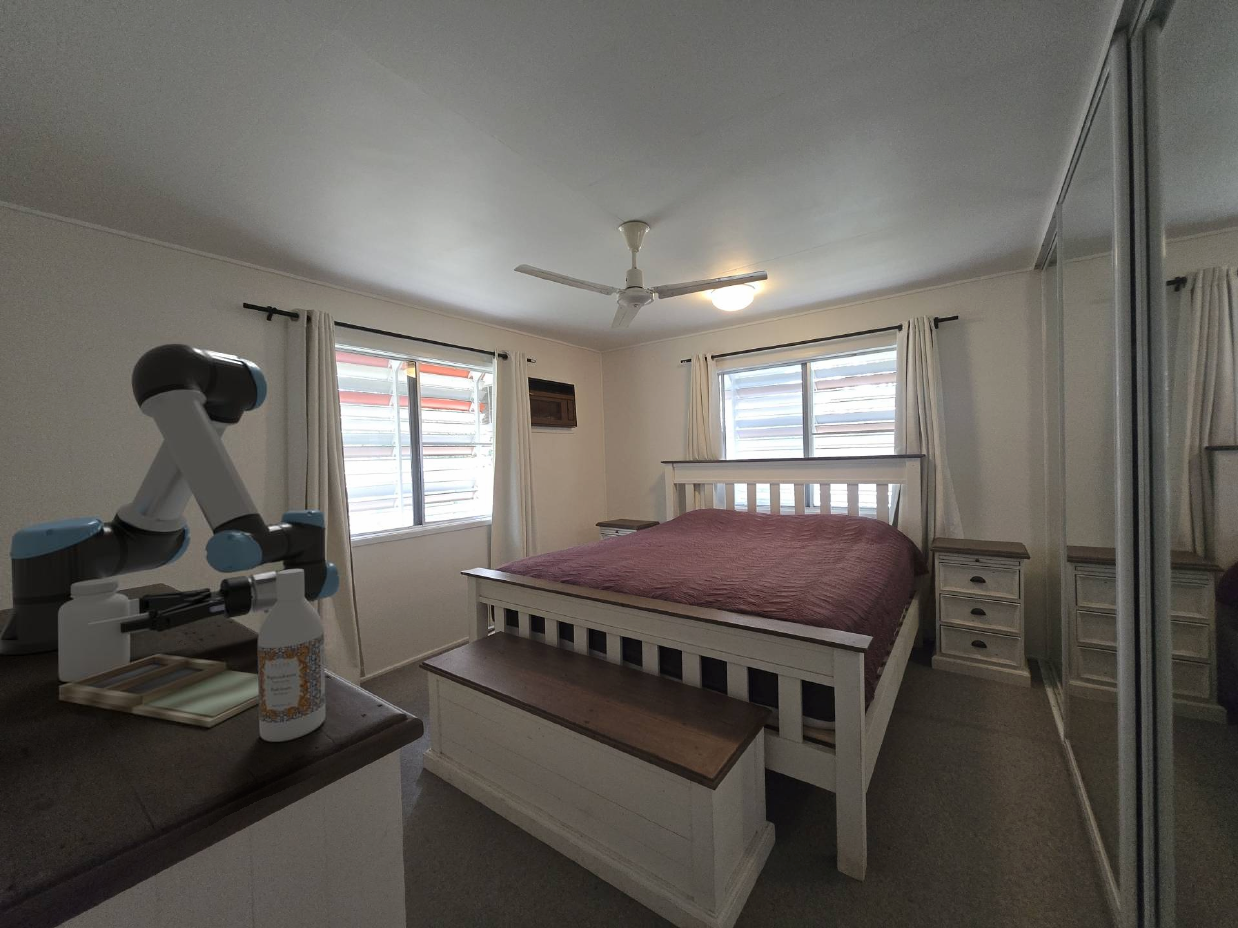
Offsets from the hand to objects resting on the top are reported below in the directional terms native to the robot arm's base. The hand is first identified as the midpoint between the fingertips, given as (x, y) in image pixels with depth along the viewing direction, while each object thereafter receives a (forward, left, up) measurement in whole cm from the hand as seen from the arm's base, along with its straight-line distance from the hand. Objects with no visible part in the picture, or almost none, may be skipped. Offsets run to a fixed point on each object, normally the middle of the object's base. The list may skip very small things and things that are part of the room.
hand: (86, 623), depth 78 cm
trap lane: (+17, +14, -8) cm, 24 cm away
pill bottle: (-1, +1, -9) cm, 9 cm away
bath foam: (+39, +28, -9) cm, 49 cm away
